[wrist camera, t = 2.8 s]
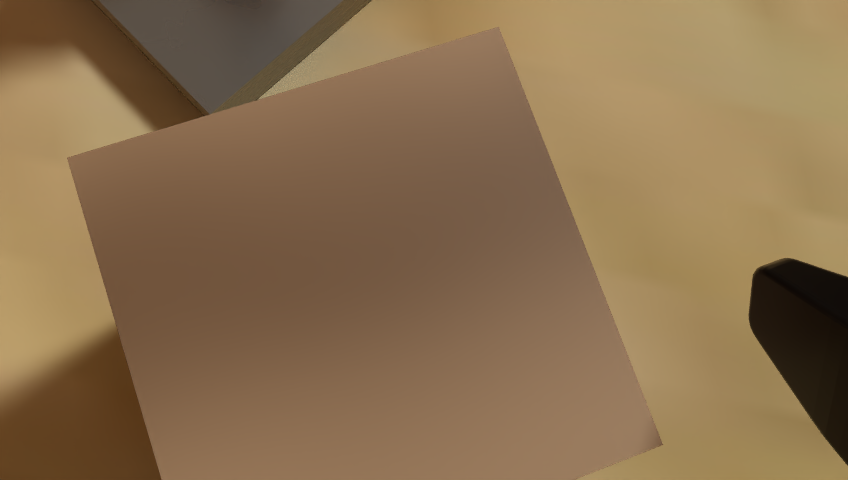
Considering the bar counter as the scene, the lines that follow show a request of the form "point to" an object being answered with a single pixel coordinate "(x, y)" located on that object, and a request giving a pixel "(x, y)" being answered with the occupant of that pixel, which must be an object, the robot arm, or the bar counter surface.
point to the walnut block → (363, 284)
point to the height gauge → (227, 41)
